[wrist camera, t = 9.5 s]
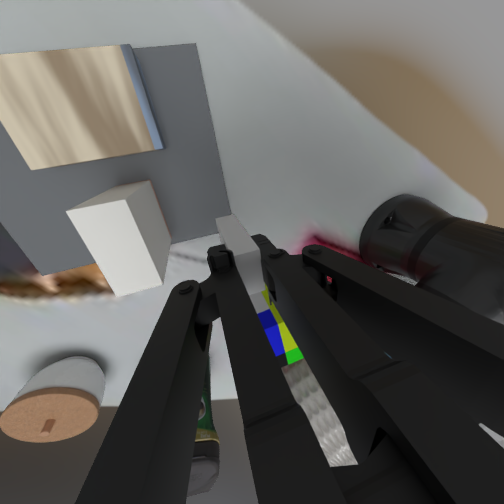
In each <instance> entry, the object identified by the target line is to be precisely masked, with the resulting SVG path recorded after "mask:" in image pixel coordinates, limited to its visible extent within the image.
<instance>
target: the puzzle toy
mask: <svg viewBox="0 0 504 504" xmlns="http://www.w3.org/2000/svg"><path fill="white" fill-rule="evenodd" d="M265 288H266V290H264V291H261V292H258V293H255V294H251V295H249V296H250V299H251V301H252V303H253V306H254V308H255V310H256V312H257V315H258V317H259V319H260V321H261V324H262V326H263V328H264V331H265V333H266V335H267V337H268V340H269V342H270V344H271V346H272V349H273V351H274V353H275V356H276V358H277V360H278V362H279V365H280V367H281V368H282V367H284V366H287V365H289V364H291V363H293V362H296V361H298V360H300V359H303V358H304V357H303V355H302V353H301V351H300V350H299V348H298V346H297V344H296V343H295V341H294V339H293V337H292V336H291V334H290V332H289V330H288V328H287V327H286V325H285V323H284V321H283V320H282V318H281V316H280V314H279V313H278V311H277V309H276V307H275V305H274V304H273V302H272V305H271V306H270V302H269V295H268V288H267V286H266V284H265Z"/></svg>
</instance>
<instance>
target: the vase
mask: <svg viewBox="0 0 504 504" xmlns="http://www.w3.org/2000/svg"><path fill="white" fill-rule="evenodd" d="M281 369H282V371H283V374H284V376H285V378H286V380H287V383H288V385H289V387H290V390H291V392H292V394H293V396H294V398H295V400H296V402H297V403H298V404H299V405H301V407H302V408H303V410H304V411H305V413H306V415H307V417H308V419H309V421H310V424H311V426H312V428H313V430H314V432H315V434H316V437H317V439H318V441H319V443H320V445H321V448H322V450H323V452H324V454H325V456H326V458H327V461H328V463H329V465H330V467H334V466H346V465H357V464H358V463H357V461H356V459H355V457H354V455H353V453H352V451H351V449H350V447H349V444H348V442H347V439H346V435H345V432H344V429H343V427H342V424H341V423H340V421H339V419H338V417H337V415H336V413H335V412H334V410H333V408H332V406H331V405H330V403H329V401H328V399H327V398H326V396H325V394H324V392H323V390H322V389H321V387H320V385H319V383H318V382H317V380H316V378H315V376H314V374H313V373H312V371H311V369H310V367H309V366H308V364H307V362H306V360H305V359H304V358H303V359H300V360H298V361H296V362H293V363H291V364H289V365H287V366H284V367H282V368H281Z"/></svg>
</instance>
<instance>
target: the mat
mask: <svg viewBox="0 0 504 504" xmlns="http://www.w3.org/2000/svg"><path fill="white" fill-rule="evenodd" d="M133 51H134V53H135V55H136V56H137V58H138V60H139V62H140V65H141V69H142V72H143V75H144V78H145V81H146V85H147V88H148V91H149V94H150V98H151V101H152V104H153V107H154V110H155V114H156V117H157V120H158V123H159V126H160V130H161V133H162V136H163V139H164V142H165V146H166V149H161V150H155V151H149V152H143V153H137V154H131V155H125V156H119V157H113V158H107V159H101V160H95V161H89V162H83V163H77V164H71V165H65V166H59V167H53V168H45V169H38V170H31V169H30V168H29V166H28V164H27V163H26V161H25V160H24V158H23V156H22V155H21V153H20V152H19V150H18V148H17V147H16V145H15V144H14V142H13V140H12V139H11V137H10V135H9V134H8V132H7V131H6V129H5V127H4V126H3V124H2V123H1V121H0V222H1V223H2V225H3V226H4V227H5V228H6V230H7V231H8V232H9V234H10V235H11V236H12V238H13V239H14V240H15V241H16V243H17V244H18V245H19V247H20V248H21V249H22V250H23V252H24V253H25V254H26V256H27V257H28V258H29V259H30V261H31V262H32V263H33V265H34V266H35V267H36V268H37V270H38V271H39V272H40V274H41V275H42V276H44V275H48V274H52V273H56V272H60V271H64V270H68V269H72V268H76V267H81V266H85V265H89V264H93V263H96V261H95V260H94V258H93V256H92V255H91V253H90V251H89V250H88V248H87V246H86V245H85V243H84V241H83V240H82V238H81V236H80V235H79V233H78V231H77V230H76V228H75V226H74V225H73V223H72V221H71V220H70V218H69V216H68V215H67V213H66V211H67V210H69V209H71V208H73V207H75V206H77V205H79V204H81V203H83V202H85V201H87V200H89V199H91V198H93V197H95V196H97V195H99V194H101V193H103V192H105V191H107V190H109V189H111V188H113V187H115V186H118V185H123V184H129V183H134V182H139V181H145V180H151V182H152V185H153V188H154V191H155V193H156V196H157V199H158V201H159V204H160V207H161V210H162V212H163V215H164V218H165V220H166V223H167V226H168V229H169V231H170V234H171V237H172V239H171V244H174V243H179V242H183V241H187V240H191V239H195V238H199V237H203V236H207V235H211V234H215V233H219V232H218V228H217V224H216V220H215V219H216V218H220V217H224V216H228V215H231V212H230V207H229V202H228V197H227V192H226V187H225V183H224V178H223V173H222V168H221V163H220V158H219V153H218V149H217V144H216V139H215V134H214V129H213V124H212V119H211V115H210V110H209V105H208V100H207V95H206V90H205V85H204V81H203V76H202V71H201V66H200V61H199V56H198V51H197V47H196V43H194V44H182V45H170V46H158V47H146V48H134V49H133Z"/></svg>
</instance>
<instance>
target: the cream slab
mask: <svg viewBox="0 0 504 504" xmlns="http://www.w3.org/2000/svg"><path fill="white" fill-rule="evenodd" d="M66 213H67V215H68V216H69V218H70V220H71V221H72V223H73V225H74V226H75V228H76V230H77V231H78V233H79V235H80V236H81V238H82V240H83V241H84V243H85V245H86V246H87V248H88V250H89V251H90V253H91V255H92V256H93V258H94V260H95V261H96V263H97V265H98V266H99V268H100V270H101V271H102V273H103V275H104V276H105V278H106V280H107V281H108V283H109V285H110V286H111V288H112V290H113V291H114V293H115V295H116V296H117V297H120V296H124V295H128V294H131V293H135V292H139V291H142V290H146V289H149V288H153V287H157V286H160V285H163V283H164V277H165V272H166V266H167V261H168V255H169V250H170V244H171V239H172V237H171V234H170V231H169V229H168V226H167V223H166V220H165V218H164V215H163V212H162V210H161V207H160V204H159V201H158V199H157V196H156V193H155V191H154V188H153V185H152V182H151V180H145V181H139V182H134V183H129V184H123V185H118V186H115V187H113V188H111V189H109V190H107V191H105V192H103V193H101V194H99V195H97V196H95V197H93V198H91V199H89V200H87V201H85V202H83V203H81V204H79V205H77V206H75V207H73V208H71V209H69V210H67V211H66Z"/></svg>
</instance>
